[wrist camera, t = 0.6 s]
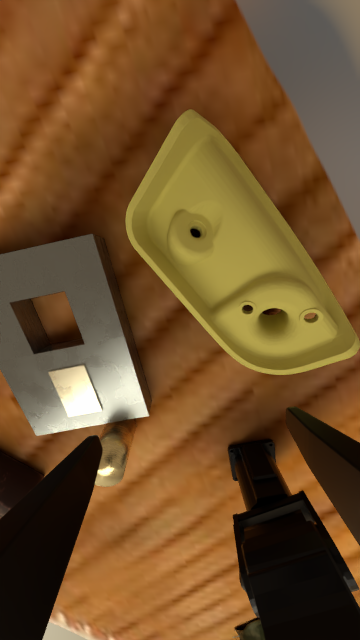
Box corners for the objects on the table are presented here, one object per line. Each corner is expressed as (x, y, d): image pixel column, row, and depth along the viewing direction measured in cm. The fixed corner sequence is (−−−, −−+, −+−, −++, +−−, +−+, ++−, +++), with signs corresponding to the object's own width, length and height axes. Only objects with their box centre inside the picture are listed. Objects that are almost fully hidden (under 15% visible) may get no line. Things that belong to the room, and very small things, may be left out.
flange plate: (151, 400, 23) (148, 417, 20) (50, 418, 24) (35, 437, 21) (103, 238, 18) (91, 233, 15) (-25, 267, 18) (-59, 266, 16)
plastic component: (115, 227, 15) (200, 78, 10) (156, 224, 22) (222, 132, 16) (255, 386, 18) (387, 347, 12) (255, 343, 24) (344, 304, 18)
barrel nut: (139, 433, 25) (127, 483, 19) (112, 438, 25) (92, 489, 19) (131, 410, 23) (117, 456, 18) (103, 415, 24) (79, 462, 18)
